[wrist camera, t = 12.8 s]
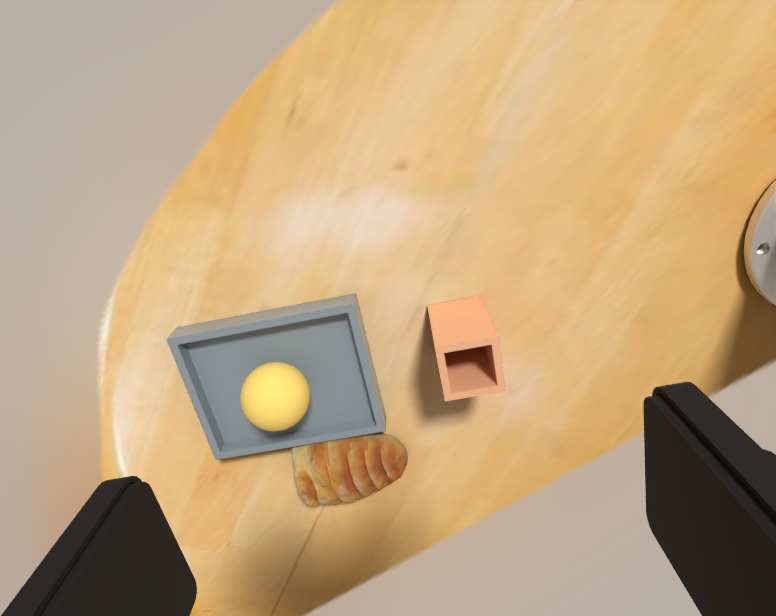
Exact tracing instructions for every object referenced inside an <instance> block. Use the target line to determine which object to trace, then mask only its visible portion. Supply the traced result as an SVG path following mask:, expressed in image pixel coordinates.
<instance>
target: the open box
mask: <svg viewBox="0 0 776 616" xmlns="http://www.w3.org/2000/svg"><path fill="white" fill-rule="evenodd" d="M427 307H428V313H429V318H430V324H431V329H432V335H433V341H434V346H435V352H436V357H437V362H438V367H439V373H440V378H441V383H442V388H443V394H444V399H445V401H451V400H457V399H463V398H468V397H474V396H480V395H486V394H492V393H497V392H503V391H506V385H505V378H504V370H503V363H502V356H501V349H500V341H499V335H498V333H497V331H496V329H495V327H494V324H493V322H492V320H491V318H490V316H489V313H488V311H487V309H486V307H485V305H484V302H483V300H482V298H481V296H475V297H470V298H464V299H459V300H454V301H448V302H443V303H438V304H432V305H427Z"/></svg>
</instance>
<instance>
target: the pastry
mask: <svg viewBox="0 0 776 616" xmlns="http://www.w3.org/2000/svg"><path fill="white" fill-rule="evenodd" d="M407 459H408V456H407V451H406V448H405V447H404V446H403V444H402V443H401V442H400V441H398V440H397V439H396V438H395V437H393V436H391V435H387V434H375V433H372V434H366V435H360V436H354V437H348V438H342V439H336V440H330V441H325V442H319V443H313V444H307V445H301V446H295V447H292V461H293V465H294V478H295V482H296V487H297V491H298V495H299V496H300V498H302V500H303V502H304V503H305V504H306V505H308V506H313V507H315V506H317V505H336V504H340V503H343V502H346V503H351V502H354V501H356V500H359V499H361V498H363V497H366V496H369V495H370V494H372V493H373V492H376V491H378V490H380V489H382V488H383V487H385V486H387V485H389V484H391V483H392V482H393V481H395V480H397V479H398V478H400V477H401V476H402V474H403V472H404V470H405V468H406V465H407Z"/></svg>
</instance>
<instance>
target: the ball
mask: <svg viewBox="0 0 776 616" xmlns="http://www.w3.org/2000/svg"><path fill="white" fill-rule="evenodd" d="M240 401H241V407H242V410H243V412H244V414H245V416H246V417H247V419H248V420H249V421H250V422H251V423H252V424H253V425H255V426H256V427H258V428H260V429H263V430H266V431H282V430H285V429H288V428H290V427H292V426H294V425H295V424H296V423H298V422H299V421H300V420H301V419H302V417H303V416H304V415H305V413H306V411H307V409H308V407H309V402H310V388H309V385H308V382H307V380H306V378H305V377H304V375H303V374H302V373H301V372H300V371H299V370H298V369H297V368H295V367H294V366H292V365H289V364H287V363H283V362H271V363H266V364H263V365H261V366H259V367H257V368H256V369H255V370H253V371H252V372H251V373H250V374H249V375H248V377H247V378H246V380H245V381H244V383H243V386H242V389H241V394H240Z"/></svg>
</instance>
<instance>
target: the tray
mask: <svg viewBox="0 0 776 616" xmlns="http://www.w3.org/2000/svg"><path fill="white" fill-rule="evenodd" d="M167 342H168V344H169V346H170V349H171V351H172V354H173V356H174V359H175V361H176V364H177V366H178V369H179V371H180V374H181V376H182V378H183V381H184V383H185V386H186V388H187V391H188V393H189V396H190V398H191V401H192V403H193V406H194V408H195V411H196V413H197V415H198V418H199V420H200V423H201V425H202V428H203V430H204V433H205V435H206V438H207V440H208V443H209V445H210V447H211V450H212V452H213V455H214V457H215V460H218V459H224V458H230V457H236V456H242V455H248V454H254V453H259V452H265V451H271V450H277V449H283V448H289V447H295V446H301V445H307V444H313V443H319V442H325V441H330V440H336V439H342V438H348V437H354V436H360V435H366V434H372V433H378V432H384V431H386V414H385V410H384V406H383V402H382V398H381V394H380V390H379V386H378V382H377V377H376V373H375V369H374V365H373V361H372V357H371V353H370V349H369V345H368V340H367V336H366V332H365V328H364V324H363V320H362V316H361V312H360V308H359V304H358V299H357V295H356V293H355V294H350V295H345V296H340V297H335V298H329V299H324V300H319V301H314V302H308V303H303V304H298V305H293V306H288V307H282V308H277V309H272V310H267V311H261V312H256V313H251V314H246V315H241V316H235V317H230V318H225V319H220V320H214V321H209V322H204V323H199V324H194V325H188V326H183V327H178V328H176V329H175V330H174V331H173V333H172V334H171V335H170V336H169V337H168V338H167ZM271 362H283V363H287V364H289V365H292V366H294V367H295V368H297V369H298V370H299V371H300V372H301V373H302V374H303V375H304V377H305V378H306V380H307V382H308V385H309V388H310V402H309V407H308V409H307V411H306V413H305V415H304V416H303V417H302V419H301V420H300V421H299V422H298V423H296V424H295V425H294V426H292V427H290V428H288V429H285V430H282V431H266V430H263V429H260V428H258V427H256V426H255V425H253V424H252V423H251V422H250V421H249V420H248V419H247V417H246V416H245V414H244V412H243V410H242V407H241V401H240V394H241V389H242V386H243V383H244V381H245V380H246V378H247V377H248V375H249V374H250V373H251V372H252V371H253V370H255V369H256V368H257V367H259V366H261V365H263V364H266V363H271Z"/></svg>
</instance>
